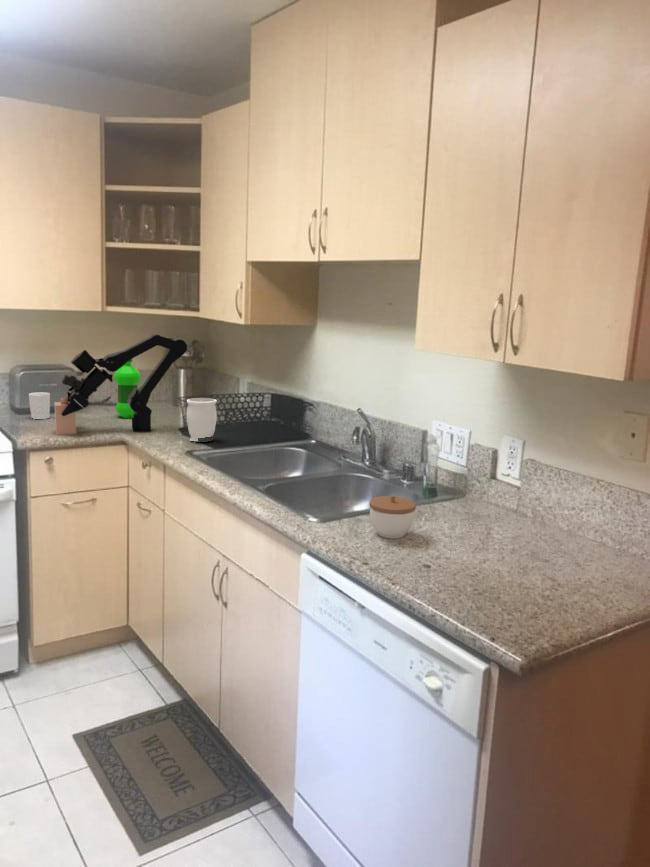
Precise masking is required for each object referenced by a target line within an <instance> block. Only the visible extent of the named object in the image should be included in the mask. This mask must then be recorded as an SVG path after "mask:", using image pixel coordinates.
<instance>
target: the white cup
mask: <svg viewBox="0 0 650 867" xmlns="http://www.w3.org/2000/svg"><path fill="white" fill-rule="evenodd" d="M28 401H29V410H30V417H31V419H32V418H33V419H32V420H35V419H43V420H48V419H47V418H50V412H51V393H50V392H45V391H44V392H41V391H38V392H37V391H35V392H31V393H30V392H29V393H28Z"/></svg>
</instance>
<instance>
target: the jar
mask: <svg viewBox="0 0 650 867" xmlns="http://www.w3.org/2000/svg"><path fill="white" fill-rule="evenodd" d="M217 401H218V400H217V399H215V398H209V397H192V398H188V399H186V403H187V408H186V424H187V430H188V433H189V436H190V438H189V441H190V442H191V441H198V438H205V437H211V436H212V437H213V436H214V433H215V430H216V424H217V419H218V417H217V415H218V414H217V407H216V404H217Z"/></svg>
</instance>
